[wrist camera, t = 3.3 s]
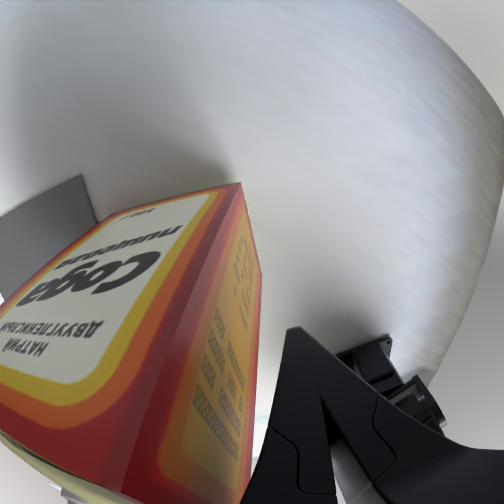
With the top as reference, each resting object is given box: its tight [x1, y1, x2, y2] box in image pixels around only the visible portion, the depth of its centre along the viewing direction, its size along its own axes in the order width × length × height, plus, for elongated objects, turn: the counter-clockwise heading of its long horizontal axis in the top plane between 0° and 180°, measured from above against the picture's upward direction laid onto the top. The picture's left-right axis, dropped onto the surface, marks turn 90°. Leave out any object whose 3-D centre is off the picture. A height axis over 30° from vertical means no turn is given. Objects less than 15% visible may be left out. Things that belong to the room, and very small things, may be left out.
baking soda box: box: [0, 182, 262, 504], centre depth 11 cm, size 10×6×16 cm
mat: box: [0, 175, 97, 300], centre depth 18 cm, size 14×16×1 cm
